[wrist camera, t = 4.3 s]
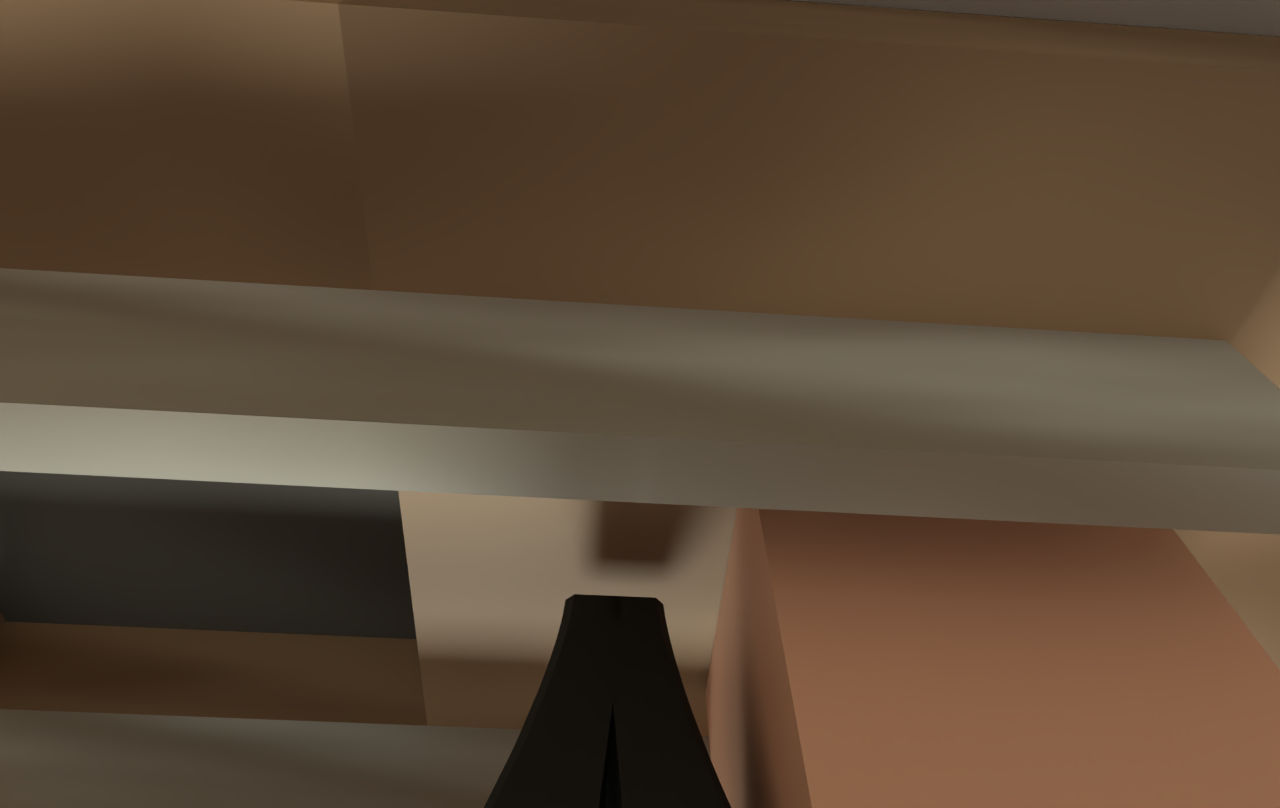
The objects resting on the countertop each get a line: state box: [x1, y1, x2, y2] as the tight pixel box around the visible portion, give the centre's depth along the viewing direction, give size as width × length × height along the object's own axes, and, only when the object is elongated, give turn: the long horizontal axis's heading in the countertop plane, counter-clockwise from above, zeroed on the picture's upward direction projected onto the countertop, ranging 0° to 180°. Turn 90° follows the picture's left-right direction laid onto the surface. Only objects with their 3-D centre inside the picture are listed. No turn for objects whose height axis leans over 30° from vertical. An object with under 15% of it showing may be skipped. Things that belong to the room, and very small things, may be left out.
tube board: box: [0, 0, 1280, 808], centre depth 12 cm, size 15×30×4 cm, turn 86°
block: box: [705, 508, 1280, 808], centre depth 10 cm, size 5×5×5 cm
